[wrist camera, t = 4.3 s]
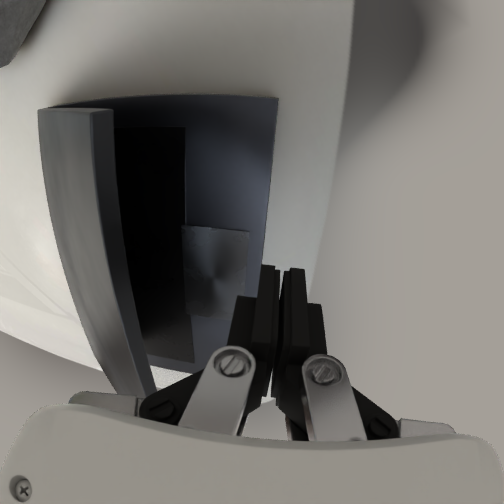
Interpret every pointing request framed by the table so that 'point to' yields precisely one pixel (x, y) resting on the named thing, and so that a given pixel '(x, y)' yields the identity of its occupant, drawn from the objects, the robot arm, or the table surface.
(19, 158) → the table surface
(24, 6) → the potted plant
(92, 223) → the laptop screen
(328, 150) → the table surface
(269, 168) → the laptop
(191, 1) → the table surface
